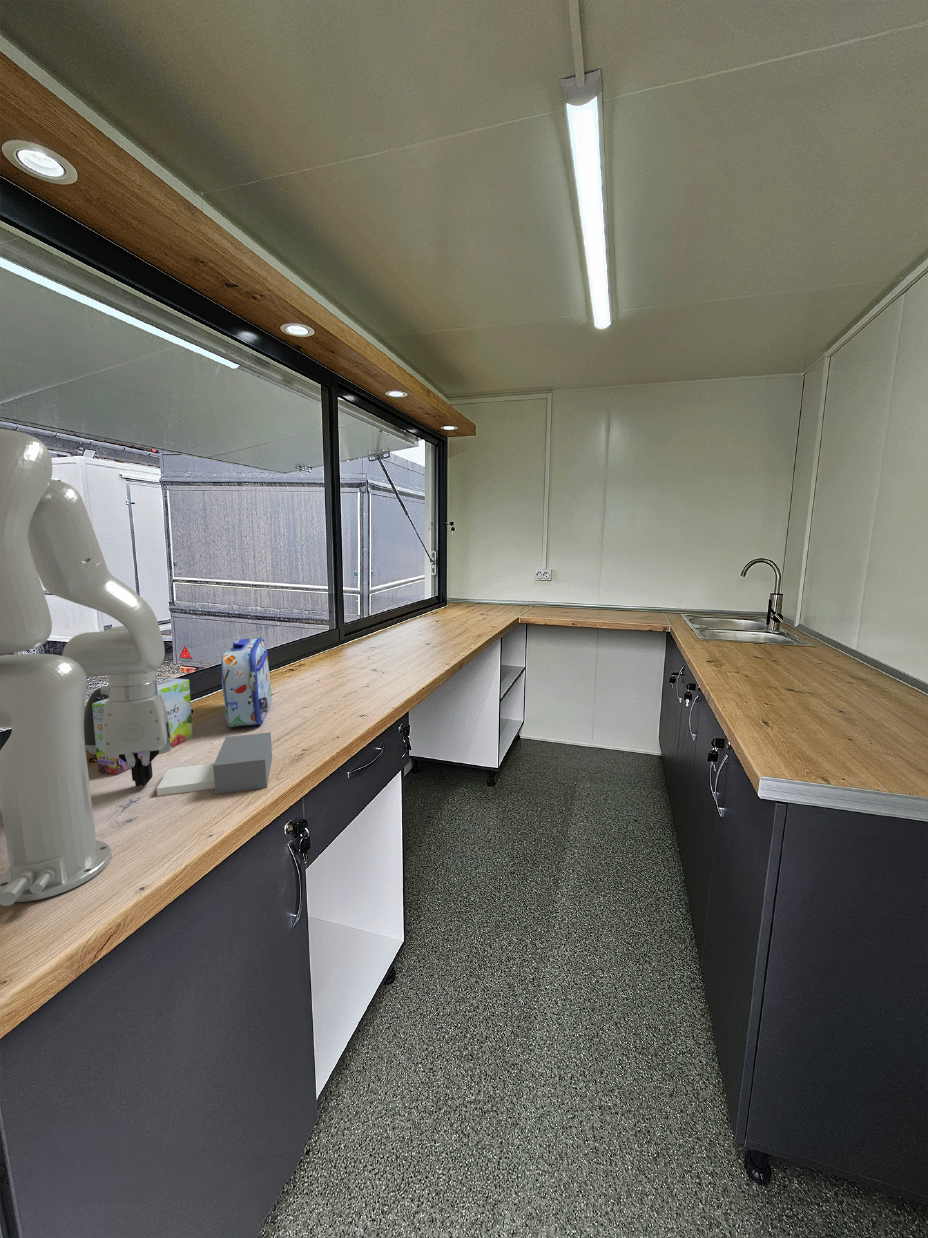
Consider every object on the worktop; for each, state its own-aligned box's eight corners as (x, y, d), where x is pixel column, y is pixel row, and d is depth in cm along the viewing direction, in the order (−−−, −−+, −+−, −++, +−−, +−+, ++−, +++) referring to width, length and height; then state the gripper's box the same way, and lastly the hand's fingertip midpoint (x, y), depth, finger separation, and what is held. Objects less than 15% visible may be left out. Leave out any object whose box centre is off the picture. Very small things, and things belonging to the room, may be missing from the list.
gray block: (266, 787, 96) (265, 759, 96) (215, 794, 94) (213, 765, 93) (272, 757, 111) (270, 732, 110) (227, 762, 108) (225, 737, 107)
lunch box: (267, 732, 126) (262, 646, 123) (222, 737, 123) (215, 648, 120) (273, 701, 152) (269, 629, 149) (236, 704, 149) (231, 631, 146)
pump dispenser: (73, 764, 108) (65, 695, 106) (94, 745, 118) (87, 683, 116) (128, 758, 111) (121, 691, 108) (143, 741, 120) (137, 679, 118)
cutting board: (250, 786, 98) (249, 776, 98) (157, 798, 94) (156, 788, 93) (254, 767, 107) (253, 758, 107) (169, 778, 102) (168, 768, 102)
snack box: (120, 775, 102) (112, 704, 100) (97, 773, 103) (89, 702, 101) (195, 737, 123) (190, 677, 121) (175, 736, 124) (169, 676, 122)
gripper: (78, 700, 89) (89, 797, 91) (172, 693, 93) (180, 787, 95) (96, 689, 96) (106, 779, 98) (183, 683, 100) (190, 770, 102)
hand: (143, 783), depth 97 cm, fingers closed
